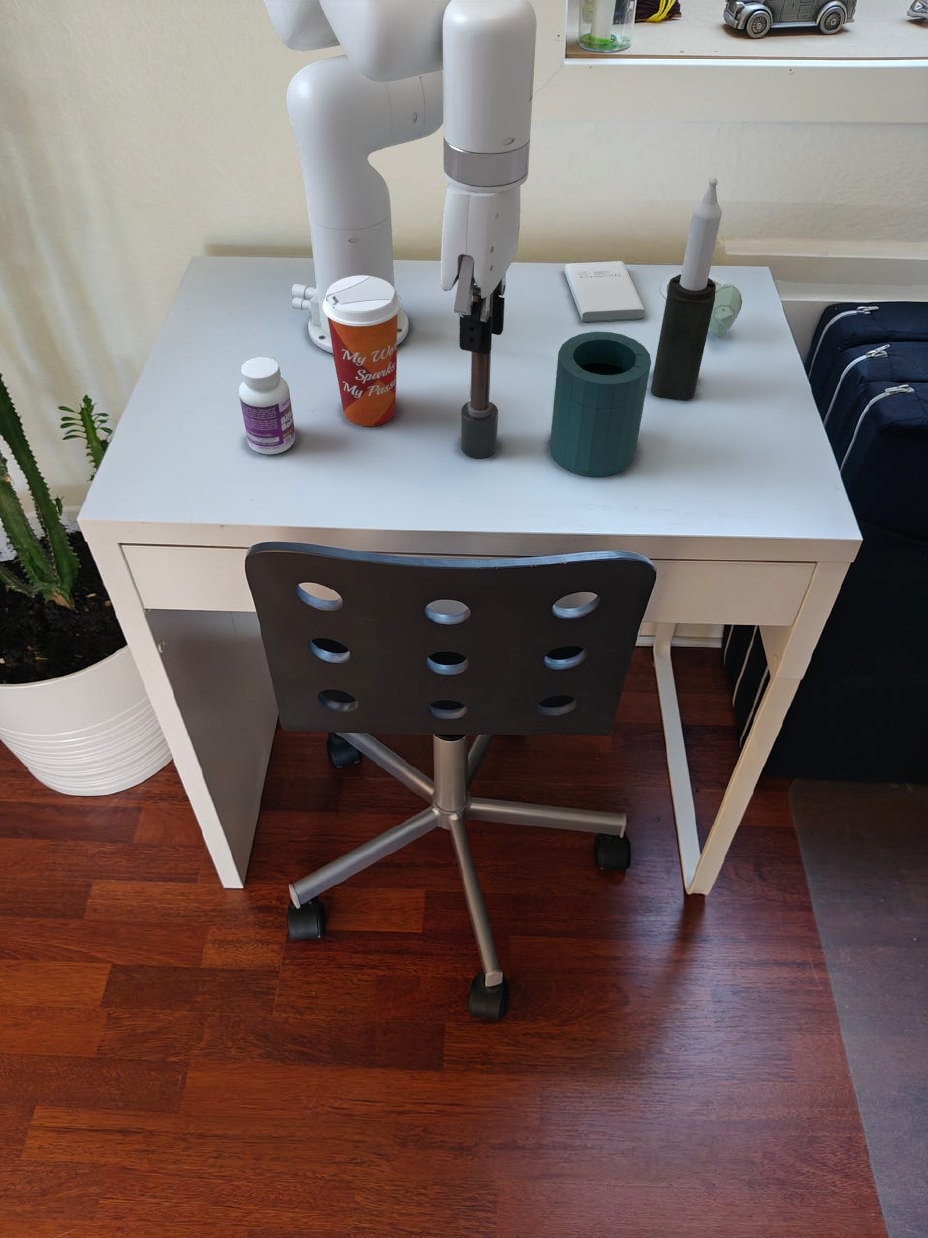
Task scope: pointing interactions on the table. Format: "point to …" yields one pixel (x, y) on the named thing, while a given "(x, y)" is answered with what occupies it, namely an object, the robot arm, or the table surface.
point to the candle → (688, 307)
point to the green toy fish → (725, 308)
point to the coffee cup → (364, 346)
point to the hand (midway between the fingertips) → (481, 339)
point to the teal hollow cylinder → (598, 403)
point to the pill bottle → (266, 406)
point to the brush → (479, 407)
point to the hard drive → (604, 291)
